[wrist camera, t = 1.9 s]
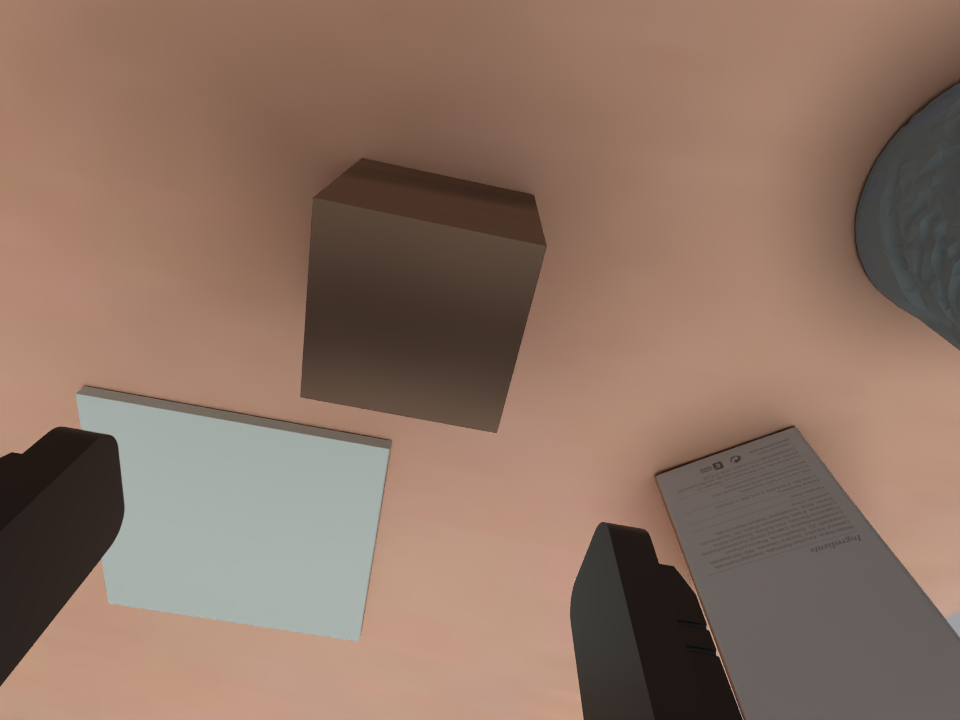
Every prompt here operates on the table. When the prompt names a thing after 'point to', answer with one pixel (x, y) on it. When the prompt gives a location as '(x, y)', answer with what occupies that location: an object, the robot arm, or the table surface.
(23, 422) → the table surface
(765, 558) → the small box
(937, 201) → the grey cup
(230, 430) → the pad
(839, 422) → the table surface
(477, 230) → the cube
